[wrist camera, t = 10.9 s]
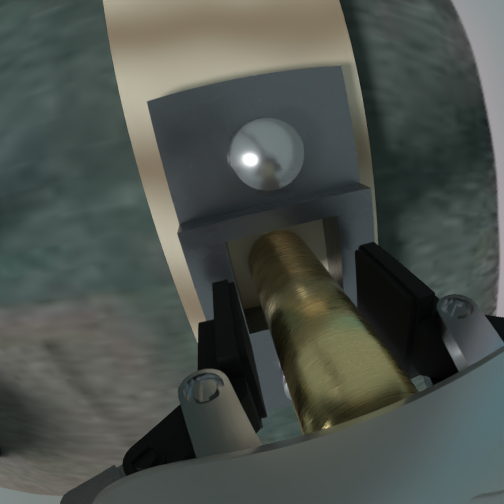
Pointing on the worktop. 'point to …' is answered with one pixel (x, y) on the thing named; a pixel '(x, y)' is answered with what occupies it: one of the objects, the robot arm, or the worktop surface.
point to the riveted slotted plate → (263, 182)
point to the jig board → (218, 70)
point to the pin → (321, 337)
